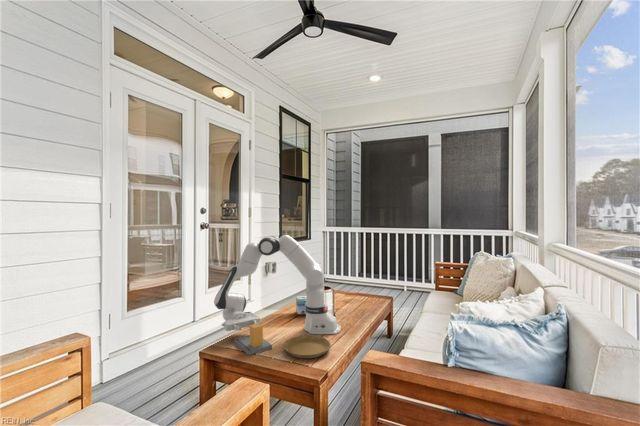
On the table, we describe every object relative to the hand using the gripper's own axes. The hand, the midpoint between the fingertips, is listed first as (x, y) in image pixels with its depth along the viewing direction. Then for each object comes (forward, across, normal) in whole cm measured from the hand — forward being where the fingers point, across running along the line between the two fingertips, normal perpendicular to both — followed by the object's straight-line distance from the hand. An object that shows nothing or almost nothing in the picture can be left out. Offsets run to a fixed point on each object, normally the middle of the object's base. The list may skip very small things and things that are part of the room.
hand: (248, 326), depth 176 cm
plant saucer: (+28, +20, +9) cm, 35 cm away
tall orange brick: (+10, 0, +7) cm, 12 cm away
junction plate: (+5, 0, +9) cm, 10 cm away
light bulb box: (-23, +53, +9) cm, 59 cm away
